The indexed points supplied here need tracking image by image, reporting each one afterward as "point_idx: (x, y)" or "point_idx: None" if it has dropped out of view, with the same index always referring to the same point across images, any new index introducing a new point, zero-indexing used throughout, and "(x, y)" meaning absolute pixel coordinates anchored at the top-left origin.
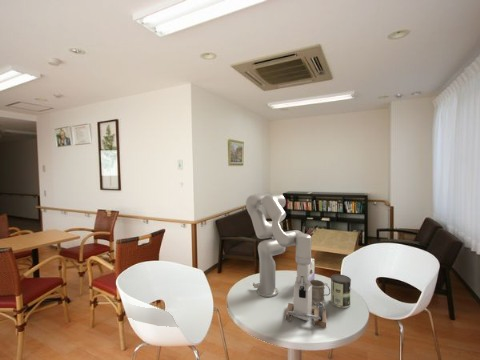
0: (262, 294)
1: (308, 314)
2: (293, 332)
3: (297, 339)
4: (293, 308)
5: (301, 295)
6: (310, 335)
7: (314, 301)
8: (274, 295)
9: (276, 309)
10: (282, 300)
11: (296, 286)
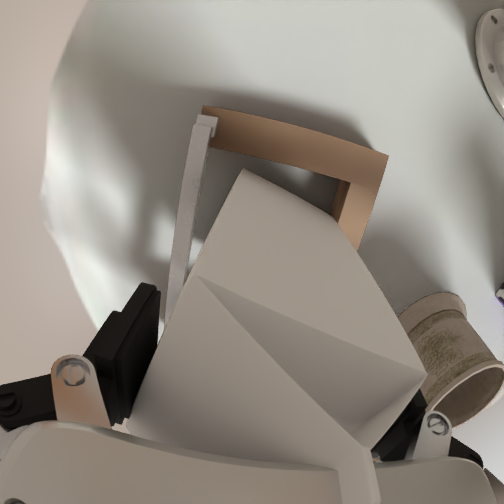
0: (484, 20)
1: (179, 281)
2: (100, 155)
3: (57, 174)
4: (343, 183)
5: (111, 326)
6: (96, 243)
7: (405, 327)
8: (490, 94)
9: (346, 61)
10: (452, 132)
11: (194, 343)
